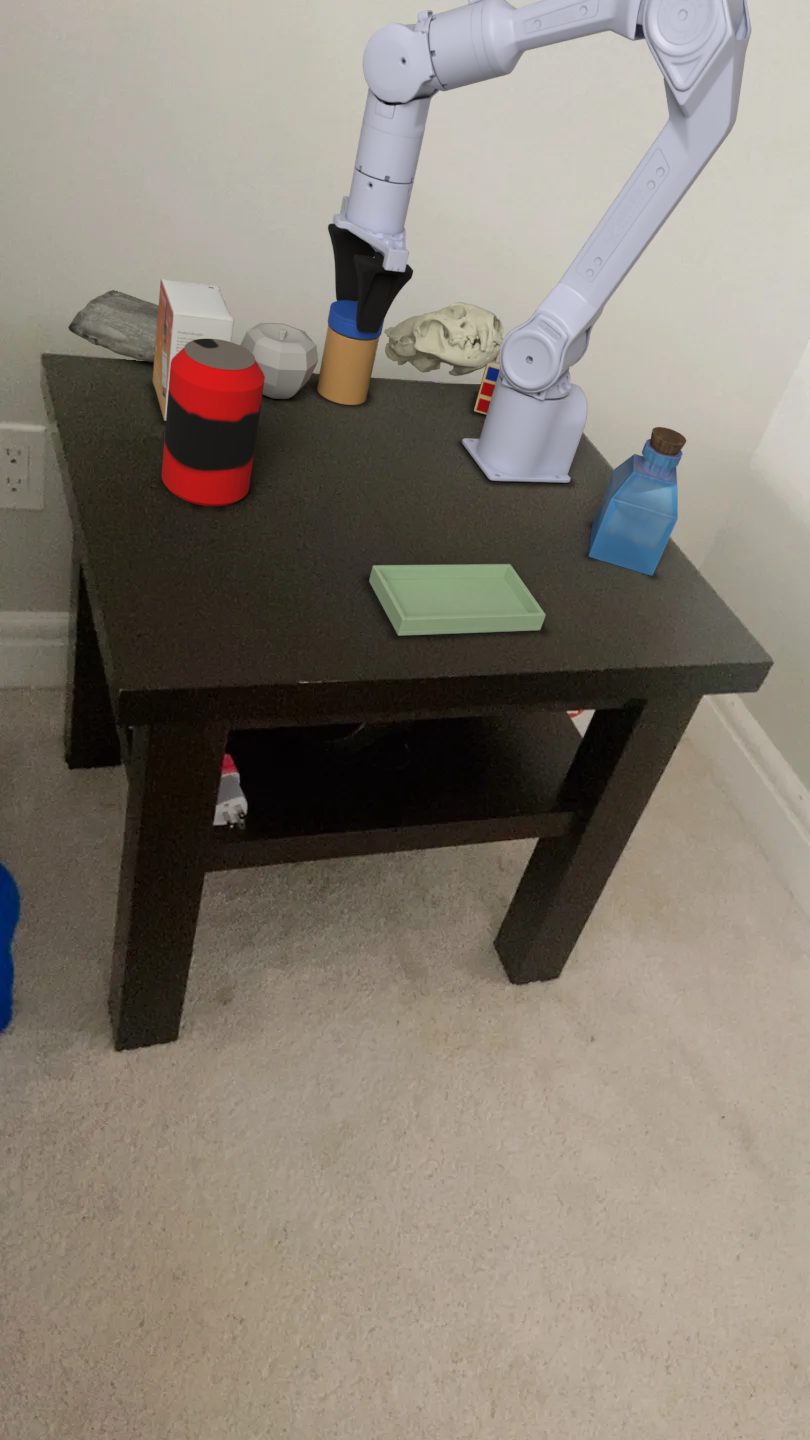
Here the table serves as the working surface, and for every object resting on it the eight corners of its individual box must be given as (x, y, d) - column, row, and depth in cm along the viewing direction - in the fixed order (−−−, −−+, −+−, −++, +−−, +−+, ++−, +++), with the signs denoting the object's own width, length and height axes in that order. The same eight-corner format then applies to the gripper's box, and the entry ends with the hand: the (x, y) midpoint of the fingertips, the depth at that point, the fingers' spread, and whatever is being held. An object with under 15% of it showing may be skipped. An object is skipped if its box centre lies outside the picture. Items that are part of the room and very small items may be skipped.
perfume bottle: (652, 575, 98) (703, 460, 90) (588, 556, 98) (634, 439, 90) (652, 544, 102) (702, 432, 95) (592, 525, 102) (636, 412, 95)
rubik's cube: (521, 424, 116) (536, 377, 113) (473, 411, 116) (487, 363, 113) (524, 405, 121) (538, 359, 117) (478, 392, 120) (491, 346, 117)
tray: (505, 579, 91) (510, 563, 90) (540, 630, 87) (546, 614, 86) (368, 581, 86) (372, 565, 85) (397, 635, 82) (402, 619, 81)
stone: (243, 358, 113) (118, 321, 115) (246, 320, 111) (119, 284, 113) (196, 386, 104) (63, 347, 107) (198, 347, 102) (62, 307, 104)
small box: (151, 383, 104) (159, 276, 98) (208, 387, 106) (219, 283, 100) (162, 422, 99) (171, 312, 92) (221, 426, 101) (234, 318, 94)
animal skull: (366, 377, 118) (370, 309, 118) (417, 400, 125) (421, 335, 125) (471, 350, 108) (475, 275, 108) (520, 376, 115) (525, 306, 115)
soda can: (216, 457, 96) (231, 329, 88) (265, 498, 93) (285, 369, 85) (144, 471, 91) (153, 338, 84) (193, 515, 88) (207, 380, 80)
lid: (372, 318, 111) (375, 302, 110) (389, 341, 107) (392, 325, 106) (320, 314, 109) (323, 297, 108) (336, 337, 105) (339, 320, 104)
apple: (327, 401, 110) (338, 340, 105) (272, 415, 104) (281, 352, 100) (275, 369, 113) (284, 308, 109) (219, 381, 108) (226, 318, 103)
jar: (357, 383, 115) (372, 307, 110) (373, 406, 112) (389, 329, 106) (310, 380, 113) (324, 303, 108) (325, 404, 110) (339, 325, 104)
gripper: (322, 143, 102) (300, 283, 110) (368, 194, 92) (340, 343, 101) (389, 154, 104) (362, 290, 113) (441, 204, 95) (407, 349, 103)
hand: (356, 316), depth 107 cm, fingers open, 6 cm apart
